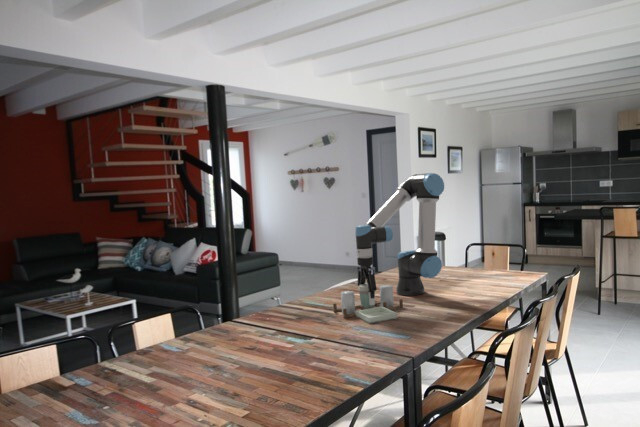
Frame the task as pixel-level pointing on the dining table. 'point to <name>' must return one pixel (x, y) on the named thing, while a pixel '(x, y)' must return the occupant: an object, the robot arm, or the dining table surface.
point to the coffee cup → (365, 296)
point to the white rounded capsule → (348, 302)
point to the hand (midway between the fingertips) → (367, 302)
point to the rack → (363, 308)
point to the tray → (376, 314)
